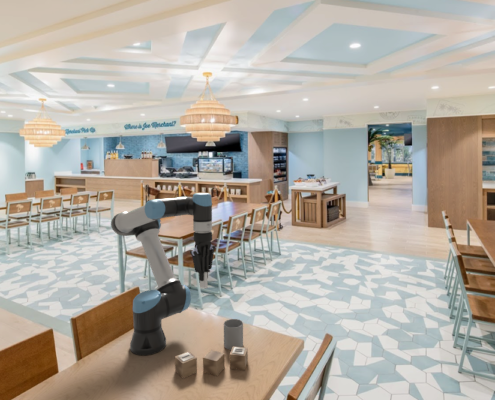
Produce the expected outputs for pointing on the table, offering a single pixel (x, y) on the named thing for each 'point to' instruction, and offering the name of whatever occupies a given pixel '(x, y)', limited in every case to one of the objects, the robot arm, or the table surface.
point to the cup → (233, 333)
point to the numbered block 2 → (238, 358)
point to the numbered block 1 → (186, 364)
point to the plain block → (213, 362)
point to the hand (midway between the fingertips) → (203, 287)
